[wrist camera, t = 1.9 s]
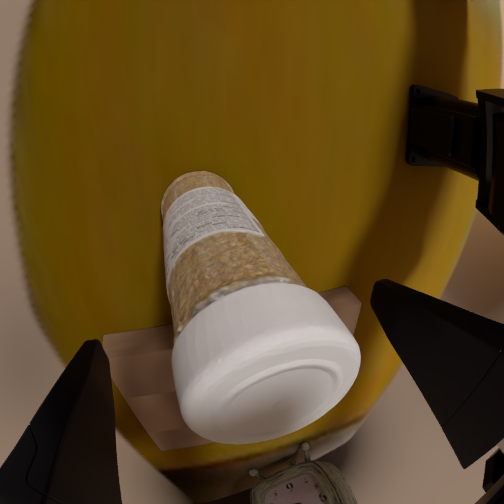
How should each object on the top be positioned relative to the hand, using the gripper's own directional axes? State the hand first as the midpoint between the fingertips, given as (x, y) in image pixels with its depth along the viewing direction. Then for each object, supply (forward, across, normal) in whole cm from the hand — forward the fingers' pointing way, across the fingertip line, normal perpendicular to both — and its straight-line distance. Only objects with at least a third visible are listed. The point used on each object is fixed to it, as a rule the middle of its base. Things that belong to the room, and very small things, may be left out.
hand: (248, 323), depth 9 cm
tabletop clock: (+11, -8, +46) cm, 48 cm away
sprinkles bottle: (+11, 0, 0) cm, 11 cm away
